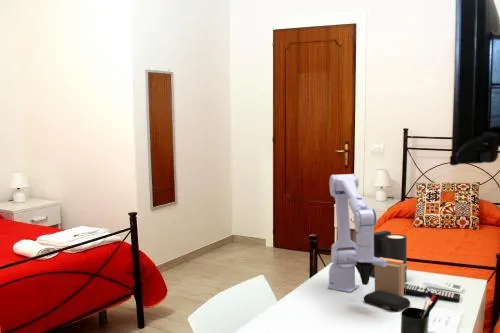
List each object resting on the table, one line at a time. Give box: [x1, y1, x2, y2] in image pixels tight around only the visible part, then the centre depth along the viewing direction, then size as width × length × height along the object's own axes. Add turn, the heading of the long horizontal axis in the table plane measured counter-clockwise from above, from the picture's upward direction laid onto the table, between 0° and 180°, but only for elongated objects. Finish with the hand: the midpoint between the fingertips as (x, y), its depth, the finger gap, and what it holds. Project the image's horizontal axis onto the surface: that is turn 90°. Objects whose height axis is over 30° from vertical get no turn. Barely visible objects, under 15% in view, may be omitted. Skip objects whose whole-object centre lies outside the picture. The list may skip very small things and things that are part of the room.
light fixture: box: [370, 229, 408, 283], centre depth 207 cm, size 10×14×18 cm
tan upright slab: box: [374, 257, 406, 297], centre depth 190 cm, size 8×9×13 cm
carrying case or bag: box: [363, 290, 411, 312], centre depth 180 cm, size 11×3×15 cm
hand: (365, 283), depth 174 cm, fingers closed
